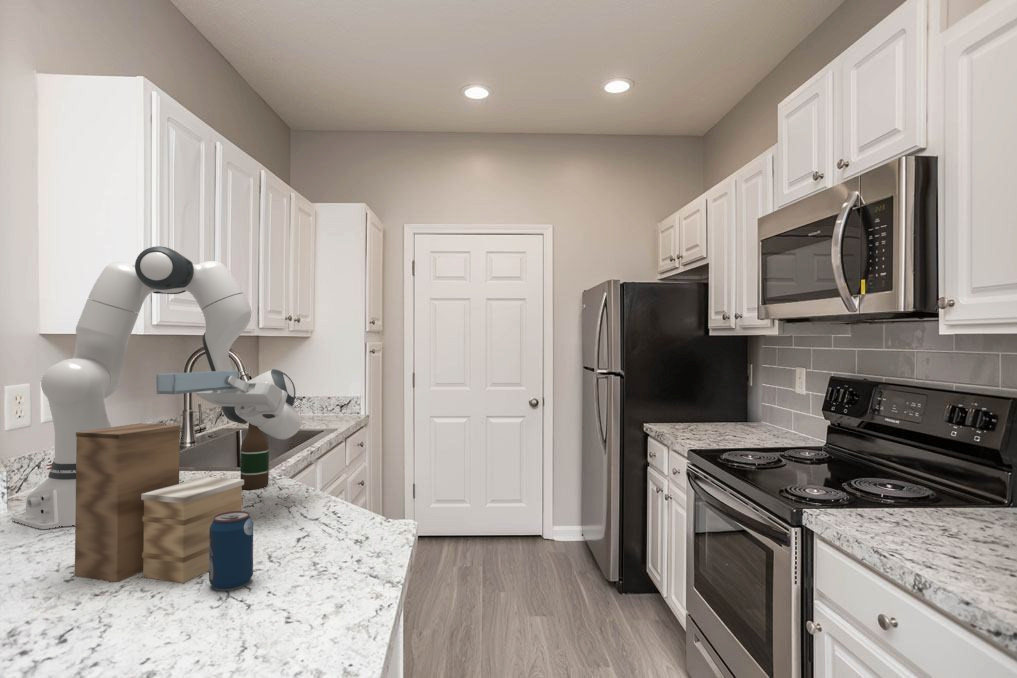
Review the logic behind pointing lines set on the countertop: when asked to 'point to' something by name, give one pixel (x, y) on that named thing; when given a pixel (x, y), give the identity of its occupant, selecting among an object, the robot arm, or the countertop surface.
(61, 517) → the robot arm
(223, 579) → the soda can
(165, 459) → the walnut stand
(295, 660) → the countertop surface
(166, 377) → the blue-gray container
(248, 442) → the beer bottle
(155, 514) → the oak crate
